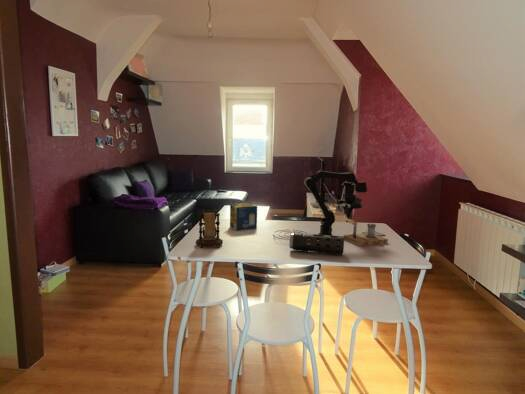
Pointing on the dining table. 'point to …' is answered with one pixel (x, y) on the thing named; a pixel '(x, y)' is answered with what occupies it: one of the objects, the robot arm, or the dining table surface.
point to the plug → (371, 230)
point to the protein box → (243, 216)
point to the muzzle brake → (317, 243)
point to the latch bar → (353, 224)
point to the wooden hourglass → (209, 230)
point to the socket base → (365, 239)
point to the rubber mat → (377, 233)
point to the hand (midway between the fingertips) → (348, 217)
